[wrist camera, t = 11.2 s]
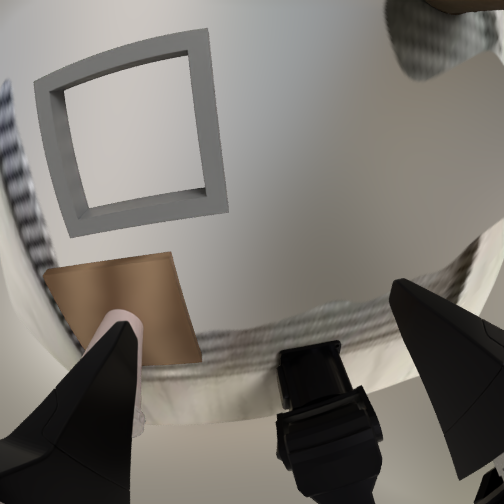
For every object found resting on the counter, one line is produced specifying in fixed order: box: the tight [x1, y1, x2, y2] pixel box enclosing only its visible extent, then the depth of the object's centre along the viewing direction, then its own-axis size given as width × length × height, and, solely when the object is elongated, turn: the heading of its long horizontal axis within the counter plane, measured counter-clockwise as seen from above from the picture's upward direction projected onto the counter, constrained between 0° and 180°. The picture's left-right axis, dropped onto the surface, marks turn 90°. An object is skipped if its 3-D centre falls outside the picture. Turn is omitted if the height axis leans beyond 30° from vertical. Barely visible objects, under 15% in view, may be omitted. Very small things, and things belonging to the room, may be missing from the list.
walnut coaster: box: [43, 252, 202, 366], centre depth 23 cm, size 12×12×1 cm
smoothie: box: [82, 309, 146, 438], centre depth 17 cm, size 6×6×14 cm
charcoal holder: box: [34, 28, 229, 238], centre depth 15 cm, size 11×11×2 cm
